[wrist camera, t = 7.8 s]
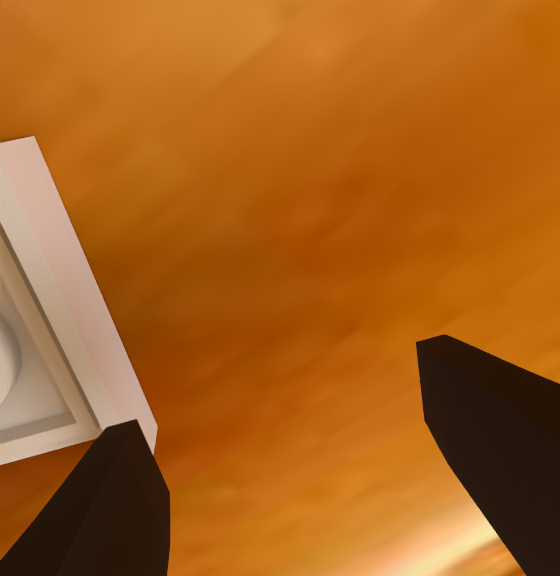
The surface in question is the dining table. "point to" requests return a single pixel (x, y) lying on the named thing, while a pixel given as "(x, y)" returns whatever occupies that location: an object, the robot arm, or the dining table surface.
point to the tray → (56, 322)
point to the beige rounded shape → (8, 359)
